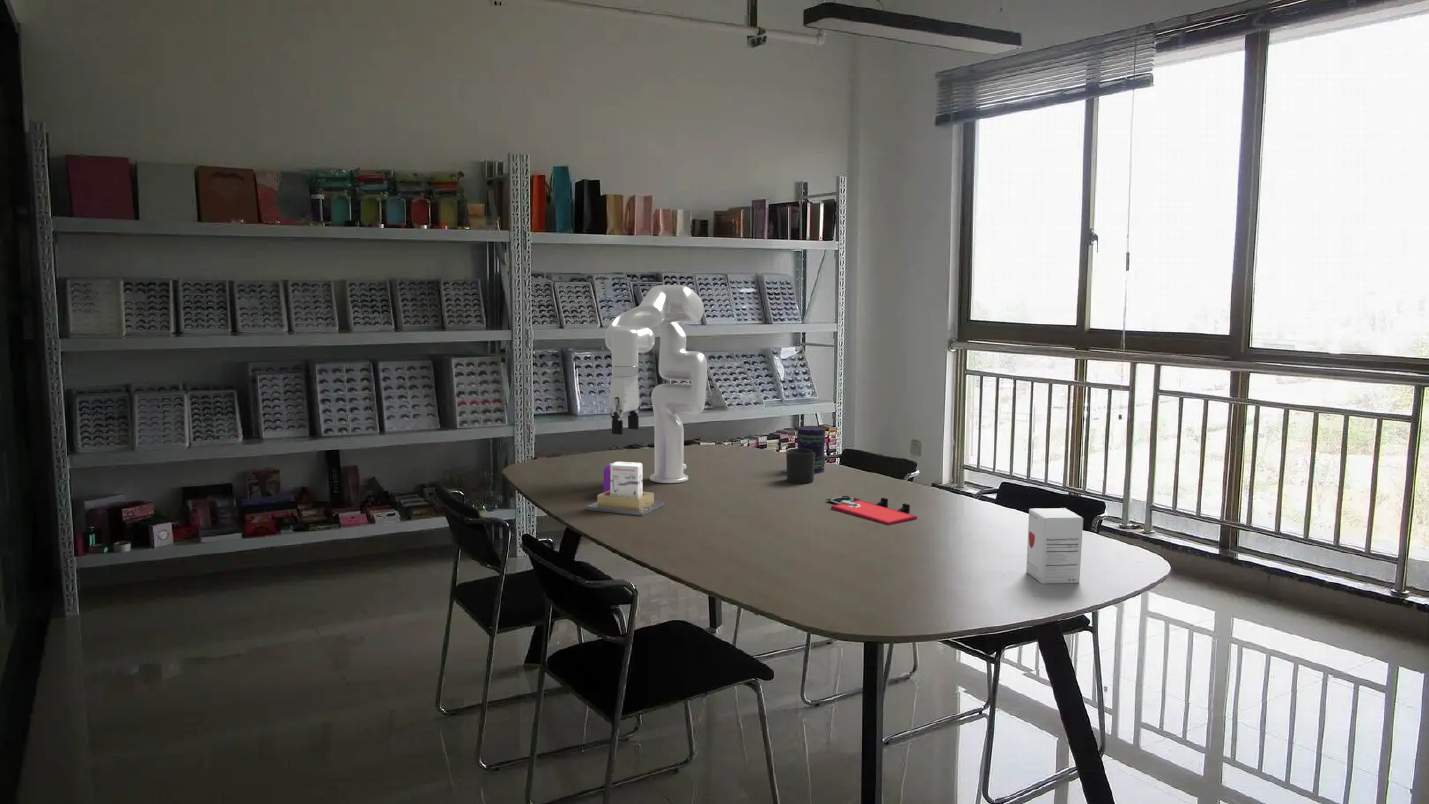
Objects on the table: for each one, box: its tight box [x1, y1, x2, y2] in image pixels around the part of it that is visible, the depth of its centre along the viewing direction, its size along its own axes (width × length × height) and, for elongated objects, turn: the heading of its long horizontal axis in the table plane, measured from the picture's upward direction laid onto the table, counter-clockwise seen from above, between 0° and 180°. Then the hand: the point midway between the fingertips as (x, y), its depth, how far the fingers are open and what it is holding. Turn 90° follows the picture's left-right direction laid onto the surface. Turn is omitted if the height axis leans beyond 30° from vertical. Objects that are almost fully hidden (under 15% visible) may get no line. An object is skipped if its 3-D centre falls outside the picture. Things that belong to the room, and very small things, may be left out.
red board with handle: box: [825, 495, 918, 526], centre depth 280 cm, size 30×3×15 cm
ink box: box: [610, 461, 644, 498], centre depth 281 cm, size 9×5×12 cm, turn 77°
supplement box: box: [1025, 507, 1084, 585], centre depth 218 cm, size 9×9×15 cm
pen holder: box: [785, 448, 815, 485], centre depth 319 cm, size 9×9×10 cm
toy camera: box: [603, 461, 616, 493], centre depth 299 cm, size 11×14×10 cm
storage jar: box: [796, 425, 826, 474], centre depth 336 cm, size 10×10×15 cm
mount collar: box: [585, 490, 665, 517], centre depth 281 cm, size 14×18×4 cm
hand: (625, 431), depth 279 cm, fingers open, 9 cm apart
